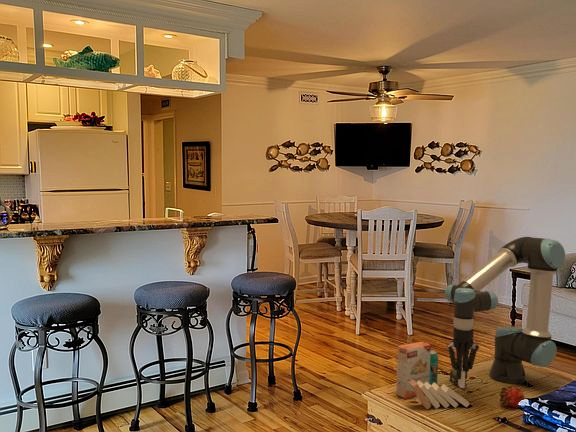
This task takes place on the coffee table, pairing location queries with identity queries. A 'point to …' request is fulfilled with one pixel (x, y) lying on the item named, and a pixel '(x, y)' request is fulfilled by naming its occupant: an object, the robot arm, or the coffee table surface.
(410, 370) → the cracker box
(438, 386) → the domino
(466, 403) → the domino
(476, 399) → the coffee table surface
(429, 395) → the domino
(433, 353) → the beverage can
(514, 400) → the dragon fruit
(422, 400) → the domino
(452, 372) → the rhino figurine
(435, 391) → the domino
